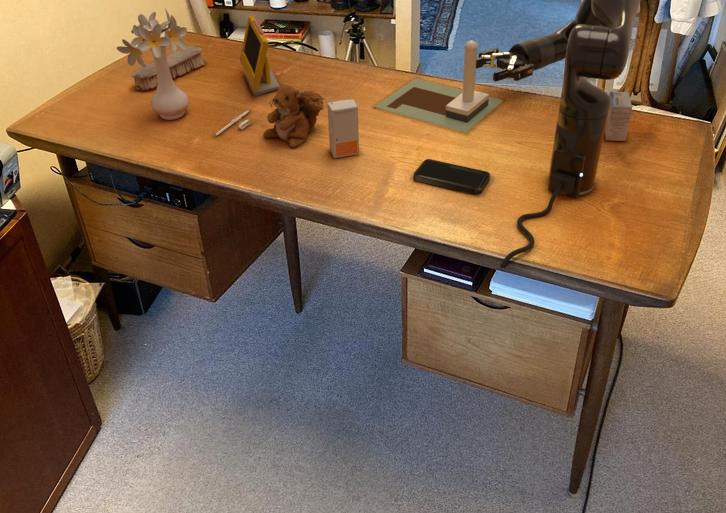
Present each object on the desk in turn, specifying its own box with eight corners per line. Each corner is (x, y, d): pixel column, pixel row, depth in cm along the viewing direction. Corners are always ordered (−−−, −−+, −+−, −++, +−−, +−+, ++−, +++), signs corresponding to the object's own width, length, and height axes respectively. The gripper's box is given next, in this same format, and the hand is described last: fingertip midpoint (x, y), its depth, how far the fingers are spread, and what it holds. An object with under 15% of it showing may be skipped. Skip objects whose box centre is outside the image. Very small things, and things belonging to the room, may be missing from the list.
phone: (479, 190, 144) (411, 175, 149) (478, 195, 144) (411, 179, 150) (491, 172, 149) (426, 157, 155) (491, 176, 150) (426, 162, 155)
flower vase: (131, 130, 172) (104, 29, 157) (167, 97, 186) (145, 2, 171) (179, 135, 169) (156, 34, 154) (212, 102, 183) (194, 5, 168)
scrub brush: (467, 122, 169) (471, 51, 158) (445, 116, 172) (448, 46, 161) (488, 105, 176) (494, 35, 165) (467, 99, 179) (471, 30, 168)
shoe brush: (191, 57, 207) (188, 41, 204) (210, 62, 203) (207, 46, 200) (129, 88, 191) (124, 71, 188) (147, 94, 188) (143, 77, 185)
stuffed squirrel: (260, 138, 167) (253, 86, 159) (304, 117, 175) (300, 66, 166) (287, 152, 161) (281, 99, 153) (332, 130, 169) (329, 78, 161)
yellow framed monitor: (241, 72, 198) (233, 16, 188) (268, 67, 199) (262, 12, 189) (254, 101, 182) (246, 42, 173) (284, 96, 184) (277, 37, 174)
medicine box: (625, 142, 160) (633, 107, 154) (605, 140, 160) (612, 106, 155) (622, 125, 166) (629, 91, 160) (602, 124, 166) (609, 90, 161)
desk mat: (465, 133, 165) (465, 132, 165) (374, 107, 177) (374, 106, 177) (503, 101, 178) (503, 100, 178) (415, 78, 190) (415, 77, 190)
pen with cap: (247, 111, 178) (246, 104, 177) (262, 114, 176) (261, 107, 175) (214, 136, 168) (213, 128, 167) (229, 140, 167) (228, 132, 165)
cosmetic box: (334, 159, 158) (330, 110, 151) (329, 150, 161) (326, 102, 154) (360, 154, 159) (358, 106, 152) (355, 146, 162) (353, 98, 155)
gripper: (514, 32, 179) (464, 47, 172) (554, 49, 169) (503, 66, 162) (511, 60, 183) (462, 76, 177) (550, 78, 174) (500, 96, 167)
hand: (482, 71), depth 170 cm, fingers open, 8 cm apart
